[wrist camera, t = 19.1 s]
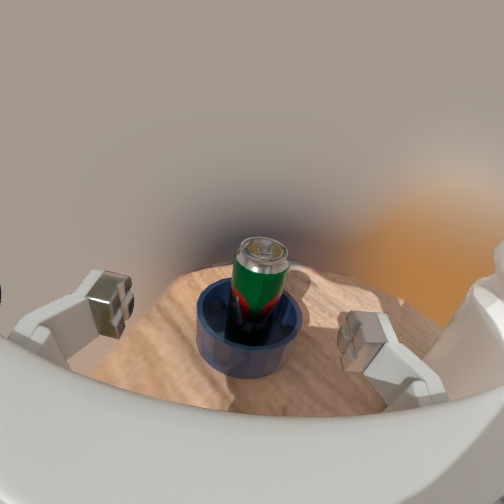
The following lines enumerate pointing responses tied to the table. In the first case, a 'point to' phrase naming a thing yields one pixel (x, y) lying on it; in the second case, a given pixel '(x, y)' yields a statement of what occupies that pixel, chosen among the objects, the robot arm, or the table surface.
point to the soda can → (255, 290)
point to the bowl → (236, 355)
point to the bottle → (474, 338)
